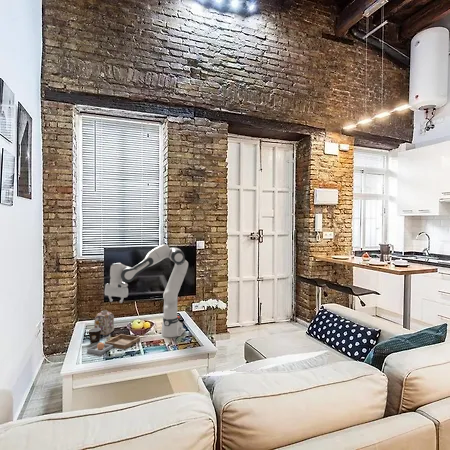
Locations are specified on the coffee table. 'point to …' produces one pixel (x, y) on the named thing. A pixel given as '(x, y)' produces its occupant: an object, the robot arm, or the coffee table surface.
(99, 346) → the ball
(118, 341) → the brown wooden tray
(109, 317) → the decorative jar
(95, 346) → the tray
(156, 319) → the coffee table surface
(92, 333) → the coffee mug
